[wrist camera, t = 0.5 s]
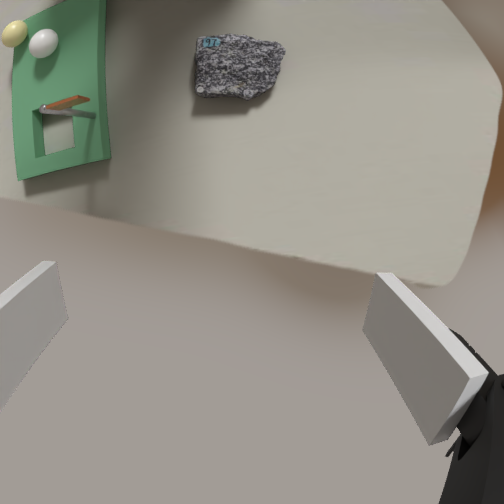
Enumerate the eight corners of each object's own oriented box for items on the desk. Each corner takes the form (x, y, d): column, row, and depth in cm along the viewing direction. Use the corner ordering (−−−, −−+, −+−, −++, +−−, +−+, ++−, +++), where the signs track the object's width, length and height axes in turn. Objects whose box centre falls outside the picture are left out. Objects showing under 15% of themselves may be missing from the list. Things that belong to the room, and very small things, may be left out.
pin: (90, 113, 30) (38, 105, 20) (122, 105, 30) (77, 92, 20) (90, 119, 30) (39, 114, 20) (122, 111, 30) (78, 101, 20)
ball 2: (40, 39, 26) (24, 32, 22) (64, 29, 26) (49, 20, 22) (38, 64, 27) (22, 59, 23) (63, 55, 27) (47, 48, 23)
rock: (276, 106, 34) (281, 101, 30) (190, 97, 33) (184, 91, 29) (283, 49, 31) (289, 38, 27) (199, 40, 31) (195, 28, 27)
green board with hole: (25, 28, 26) (16, 24, 24) (107, -6, 27) (100, -13, 24) (28, 178, 34) (17, 181, 32) (111, 158, 34) (103, 159, 32)
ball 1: (13, 31, 24) (-2, 25, 20) (34, 20, 24) (19, 12, 21) (11, 54, 26) (-6, 49, 22) (31, 43, 26) (15, 37, 22)
